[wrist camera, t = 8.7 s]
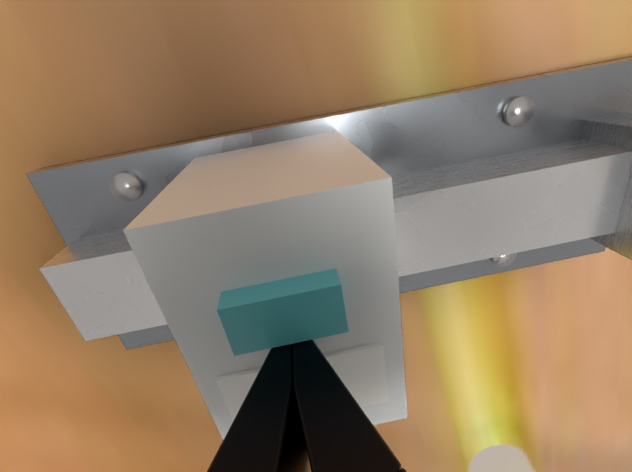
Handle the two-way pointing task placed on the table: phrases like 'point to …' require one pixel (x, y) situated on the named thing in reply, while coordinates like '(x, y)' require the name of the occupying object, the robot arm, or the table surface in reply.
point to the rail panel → (376, 141)
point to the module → (279, 268)
